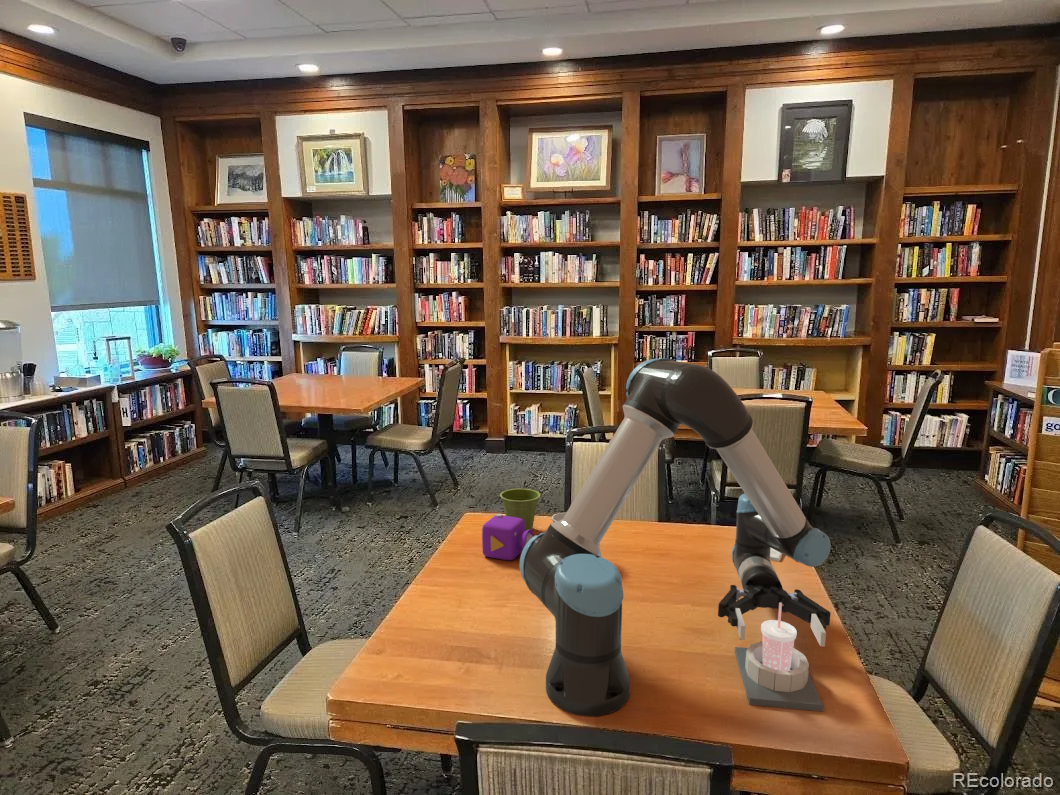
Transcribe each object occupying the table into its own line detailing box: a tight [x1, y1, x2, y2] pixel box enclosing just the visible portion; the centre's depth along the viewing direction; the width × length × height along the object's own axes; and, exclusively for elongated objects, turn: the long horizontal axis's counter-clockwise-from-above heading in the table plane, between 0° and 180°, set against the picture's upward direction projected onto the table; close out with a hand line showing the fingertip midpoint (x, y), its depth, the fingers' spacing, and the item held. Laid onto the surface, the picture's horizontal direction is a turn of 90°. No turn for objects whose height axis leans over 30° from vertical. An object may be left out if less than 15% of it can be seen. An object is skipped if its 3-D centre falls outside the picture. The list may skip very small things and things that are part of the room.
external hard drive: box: [770, 548, 783, 562], centre depth 174 cm, size 2×8×12 cm
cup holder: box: [734, 641, 824, 712], centre depth 116 cm, size 12×16×4 cm
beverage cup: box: [760, 602, 798, 671], centre depth 115 cm, size 6×6×14 cm
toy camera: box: [481, 513, 535, 561], centre depth 171 cm, size 11×14×10 cm
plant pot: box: [499, 488, 541, 531], centre depth 187 cm, size 12×12×11 cm
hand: (782, 636), depth 113 cm, fingers open, 13 cm apart
